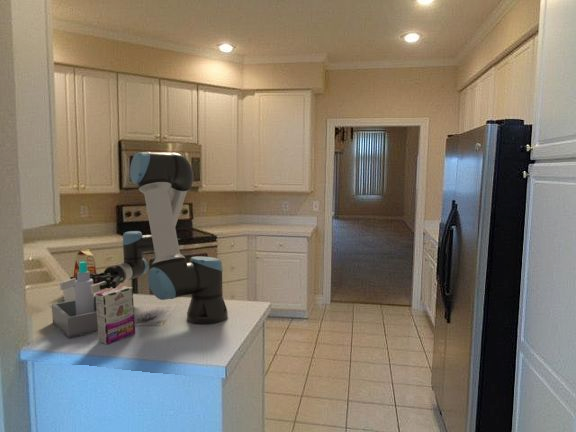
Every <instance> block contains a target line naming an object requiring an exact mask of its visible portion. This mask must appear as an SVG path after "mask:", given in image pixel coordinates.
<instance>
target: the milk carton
mask: <svg viewBox="0 0 576 432" xmlns="http://www.w3.org/2000/svg"><path fill="white" fill-rule="evenodd" d="M90 250H91V249H89V248H88V249H84V248H79V252H78V253H76V256H75V262H74V269H73V274H72V275H73V276H72V277H75V276H77V273H78V272H79V262H87V271H89V274H92V273H97V274H98V269H97V265H96V261H95V256H94V254H93V253H92V252H91V251H90ZM95 281H97V279H96V280H95ZM95 284H97V283H95ZM93 285H94V283H93Z"/></svg>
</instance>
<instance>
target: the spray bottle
mask: <svg viewBox="0 0 576 432" xmlns="http://www.w3.org/2000/svg"><path fill="white" fill-rule="evenodd" d="M74 285H75V304H76V315H81V314H86V313H90V312H95V311H94V296H95V293H93V294H92V293H91V285H93V279H90V275H89V271H87V262H79V272H78V273H77V280H75V281H74Z"/></svg>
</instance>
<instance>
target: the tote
mask: <svg viewBox="0 0 576 432" xmlns="http://www.w3.org/2000/svg"><path fill="white" fill-rule="evenodd" d="M94 311H95V312H90V313H86V314H81V315H76V304H75V300H71V301H66V302H65V301H62V302H57V303H51V313H52V314H51V315H52V323H53V324H54V325H55V327H57V328H58V330H59V331H60V332H61V333H62V334H63V335H64V336H65V337H67V339H69V340H70V339H74V338H78V337H81V336H83V337H84V336H86V335H90V334H91V335H92V334H94V333H98V324H97V310H96V295H94Z"/></svg>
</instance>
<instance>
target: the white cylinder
mask: <svg viewBox="0 0 576 432" xmlns="http://www.w3.org/2000/svg"><path fill="white" fill-rule="evenodd" d="M62 295H63V300H64V301H63V302H66V301H71V300H75V287H70V288H67V289H64V290H62Z"/></svg>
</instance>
